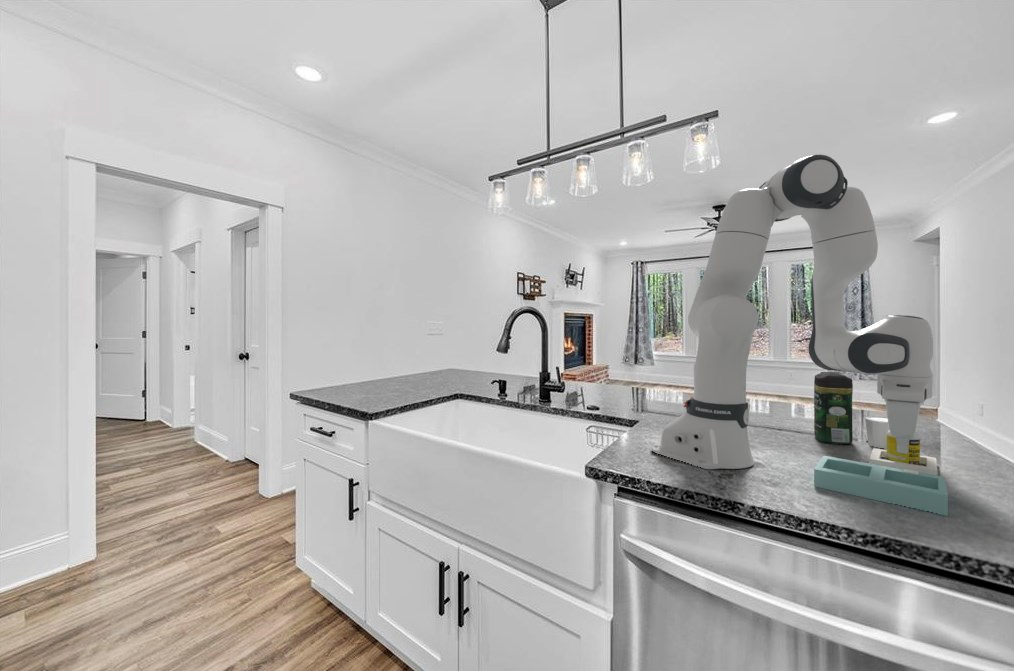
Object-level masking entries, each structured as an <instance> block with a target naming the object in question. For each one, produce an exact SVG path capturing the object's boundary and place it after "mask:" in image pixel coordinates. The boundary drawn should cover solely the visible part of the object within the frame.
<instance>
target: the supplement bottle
mask: <svg viewBox="0 0 1014 671" xmlns="http://www.w3.org/2000/svg"><path fill="white" fill-rule="evenodd" d="M886 450H887V451H886V458H885V460H890V461H896V462H902V463H908V464H914V465H920V466H921V464H920V455H921V435H920V434H919V433H918V432H917V431H916V432H915V436H914V438H909V446H908V453H907V454H904V453H899V452H897V442H896V436H892V435H891V433H890V430H888V432H887V449H886Z"/></svg>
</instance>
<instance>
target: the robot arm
mask: <svg viewBox="0 0 1014 671" xmlns="http://www.w3.org/2000/svg"><path fill="white" fill-rule="evenodd" d="M868 202H869V201H868V200H867V198H866V196H865V194H864V192H863V191H862V190H861V189H859V188H857V187H855V186H848V179H847V178H846V177H845V176H844V172H843V169H842V168H841V166H840V165H839V163H838V162H837V161H836V160H835V159H833V158H832V157H830V155H829V156H828V155H826V154H813V155H808V156H805V157H802V158H799V159H798V160H796V161H794V162H793V163H791V164H790V165H788V166H786V167H784V168H782V169H780V170H779V171H777V172H776V173H775V174H774V175H772V176H771V177H770V178H769V179H767V181H765V182H764V183H763V184H761V185H760V186H759V187H758V188H753V187H752V188H744V189H740V190H738V191H736V192H735V193H733V194H732V195H731V196H730V197H729V199H728V201H727V202H726V205H725V207H724V209H723V211H722V213H721V216H720V219H719V221H718V224H717V227H716V230H715V231H716V232H715V235H714V238H713V242H712V244H711V248H710V249H711V250H710V253H709V257H708V260H707V261H708V262H707V263H706V264H707V265H706V268H705V271H704V272H703V275H702V277H701V280H700V282H699V286H698V287H697V288H698V289H697V291H696V293H695V295H694V299H693V302H692V304H691V308H690V310H689V313H688V317H687V320H688V322H687V323H688V326H689V329H690V330H691V331H692V333H693V334H694V335H695V336H696V337H698V346H697V351H696V352H697V353H696V358H695V361H694V366H693V396H692V397H690V398H689V399H688V400H686V401H685V402H683V404H684V405H683V407H684V408H685V412H684V413H683V414H682V415H680V416H678V417H676V418H674V420H672V421H671V422H669V423H667V424H666V425H665V426H664V427H663V430H662V432H661V438H660V440H659V441H657V442H655V443H654V444H652V446H651V452H652V451H654V452H657V453H659V454H662V455H664V456H667V457H666V458H668V457H670V458H669V459H671V458H673V459H672V460H674V459H677V460H680V461H679V462H681V461H683V462H682V463H684V462H686V463H685V464H687V463H689V464H688V465H691V464H692V466H694V467H697V466H698V467H697V468H700V467H701V469H705V470H717V469H718V470H719V469H728V470H730V469H731V470H733V469H734V470H735V469H737V470H738V469H739V470H740V469H746V468H750V467H753V466H754V465H755V461H754V458H753V455H752V450H751V447H750V440H749V434H748V433H749V432H748V426H749V423H750V413H749V412H750V409H749V402H748V401H747V367H748V360H749V355H750V352H751V348H752V342H753V340H752V339H753V336H754V332H755V331H756V329H757V327H758V324H759V313H758V310H757V308H756V307H755V305H754V304H753V303H752V302H751V301H749V300H748V299H747V297H748V294H749V292H750V290H751V288H752V286H753V284H754V283H755V282H756V280H757V279H758V276H760V272H761V268H762V265H763V260H764V257H765V254H766V251H767V247H768V243H769V239H770V234H771V230H772V227H773V225H774V223H777V222H782V221H786V220H787V221H788V220H789V219H791V218H794V217H797V216H801V218H803V220H804V221H805V222H806V224H807V225H808V227H809V230H810V235H811V236H810V237H811V244H812V252H813V269H812V270H813V271H812V275H811V280H810V297H811V299H810V300H811V318H812V319H811V320H812V322H811V323H812V330H811V336H810V339H809V343H808V355H809V358H810V359H811V361H812V362H813V363H814V364H815V365H816V366H817V367H819V368H821V369H823V370H826V371H836V372H838V371H839V372H840V371H841V372H849V373H854V374H855V373H857V374H864V375H873V374H876V375H877V382H876V384H877V390H876V393H877V394H878V395H880V396H881V398H882V399H883V400H884V402H885V407H886V414H887V415H886V416H887V417H886V418H888V424H889V430H890V433H891V435H892V436H896V442H897V452H899V453H904V454H907V453H908V446H909V438H914V436H915V432H916V433H917V427H918V426H917V425H918V421H919V415H920V409H921V407H922V406H923V405H924V404H925V401H927V400H929V399H932V398H933V382H934V381H933V377H934V376H933V372H932V369H931V362H932V360H933V358H934V338H933V331H932V328H931V325H930V323H929V321H928V320H926V319H925V318H923V317H920V316H915V315H905V314H904V315H903V314H889V315H884V316H882V318H880V320H878V321H877V322H875V323H873V324H871V325H870V326H869V325H868V326H867V327H864V328H860V329H859V330H848V329H847V327H846V325H845V309H844V308H845V307H844V306H845V305H844V294H845V292H846V289H847V288H848V286H849V285H850V284H851V282H852V281H854V280H855V279H856V278H858V277H859V276H861V275H863V274H864V273H866V271H867V270H869V269H870V268H871V267H872V266H873V264H874V263H875V261H876V259H877V257H878V245H879V243H878V236H877V231H876V226H875V221H874V218H873V214H872V209H871V208H870V205H869V203H868ZM664 456H663V457H664ZM677 460H676V461H677Z"/></svg>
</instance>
